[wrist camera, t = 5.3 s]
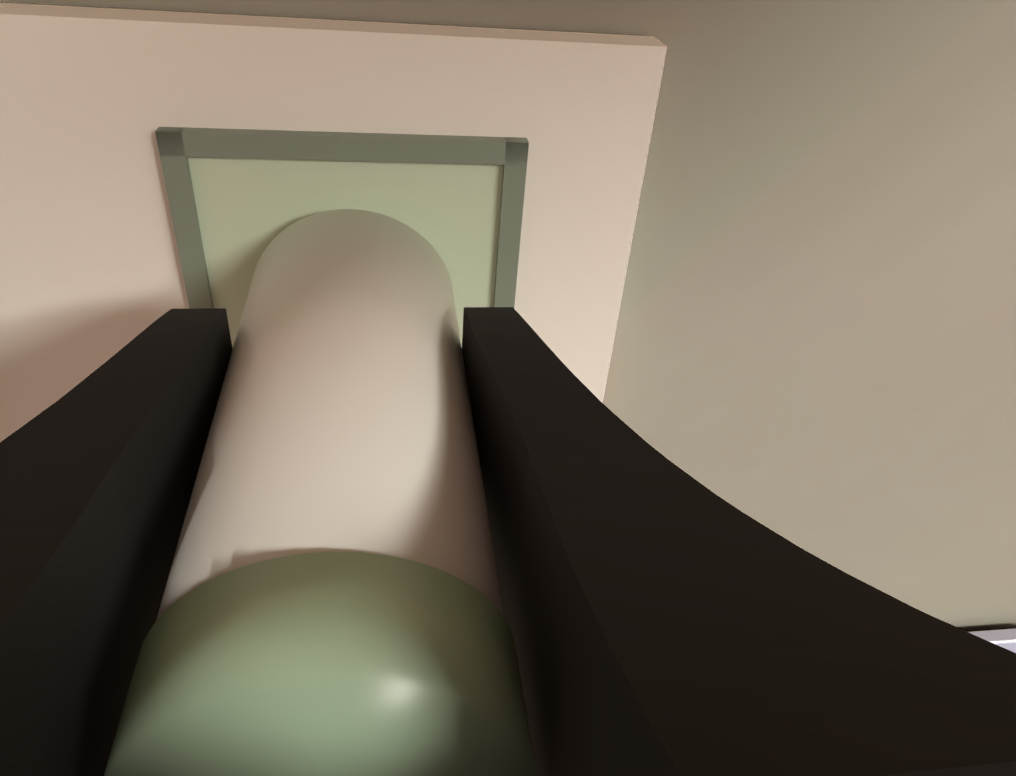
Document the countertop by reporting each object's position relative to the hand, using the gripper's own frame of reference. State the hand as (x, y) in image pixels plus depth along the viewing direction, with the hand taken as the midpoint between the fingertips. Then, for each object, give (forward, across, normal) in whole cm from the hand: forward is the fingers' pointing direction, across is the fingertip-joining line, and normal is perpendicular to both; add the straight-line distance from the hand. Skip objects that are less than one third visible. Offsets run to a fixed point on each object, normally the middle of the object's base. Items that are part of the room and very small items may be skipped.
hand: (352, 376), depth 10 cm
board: (+3, +1, +2) cm, 3 cm away
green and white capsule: (+2, 0, 0) cm, 2 cm away
